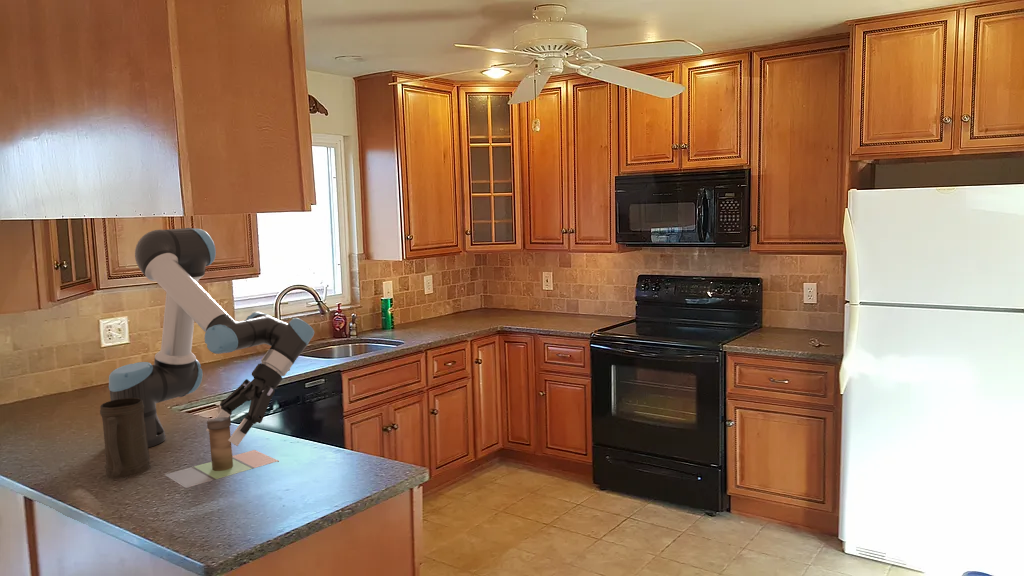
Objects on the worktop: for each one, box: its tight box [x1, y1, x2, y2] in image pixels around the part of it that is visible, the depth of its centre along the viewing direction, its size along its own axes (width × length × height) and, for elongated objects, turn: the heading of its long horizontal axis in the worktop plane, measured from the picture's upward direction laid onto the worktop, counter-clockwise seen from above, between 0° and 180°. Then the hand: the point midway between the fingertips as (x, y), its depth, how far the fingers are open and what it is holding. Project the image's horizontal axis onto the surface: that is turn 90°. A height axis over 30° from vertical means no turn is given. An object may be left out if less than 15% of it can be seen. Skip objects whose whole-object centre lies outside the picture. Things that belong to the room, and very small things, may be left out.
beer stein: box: [99, 398, 151, 479], centre depth 184 cm, size 15×11×20 cm
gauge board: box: [164, 449, 280, 489], centre depth 186 cm, size 14×24×1 cm, turn 135°
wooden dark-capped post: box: [206, 417, 233, 471], centre depth 186 cm, size 6×6×12 cm
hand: (221, 438), depth 185 cm, fingers open, 13 cm apart
